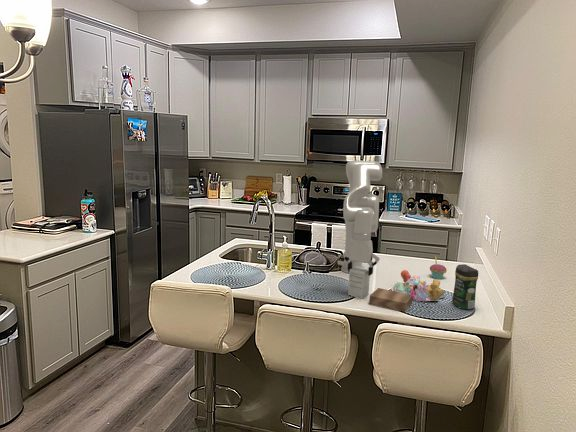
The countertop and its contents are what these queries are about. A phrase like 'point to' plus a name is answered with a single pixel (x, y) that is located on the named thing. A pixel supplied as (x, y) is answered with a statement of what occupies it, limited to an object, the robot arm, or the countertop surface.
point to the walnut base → (390, 299)
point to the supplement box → (358, 282)
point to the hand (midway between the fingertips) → (359, 273)
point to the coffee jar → (465, 287)
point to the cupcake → (437, 270)
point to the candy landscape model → (419, 288)
